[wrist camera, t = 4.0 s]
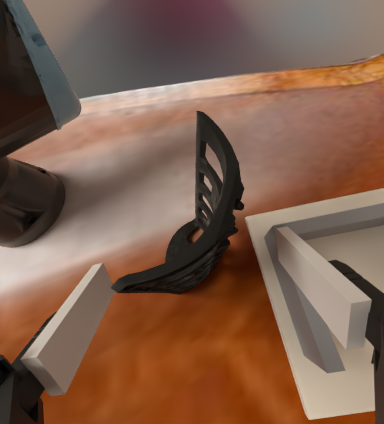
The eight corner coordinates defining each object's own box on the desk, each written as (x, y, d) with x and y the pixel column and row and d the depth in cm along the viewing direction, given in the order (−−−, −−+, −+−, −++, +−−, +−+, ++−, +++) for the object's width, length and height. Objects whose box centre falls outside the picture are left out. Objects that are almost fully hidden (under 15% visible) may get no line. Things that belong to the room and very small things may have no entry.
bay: (244, 219, 28) (250, 201, 23) (382, 190, 27) (422, 165, 22) (305, 413, 19) (338, 461, 14) (515, 384, 18) (641, 423, 13)
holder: (172, 217, 30) (127, 102, 11) (220, 221, 29) (253, 107, 11) (160, 291, 26) (61, 302, 7) (215, 298, 25) (257, 328, 7)
